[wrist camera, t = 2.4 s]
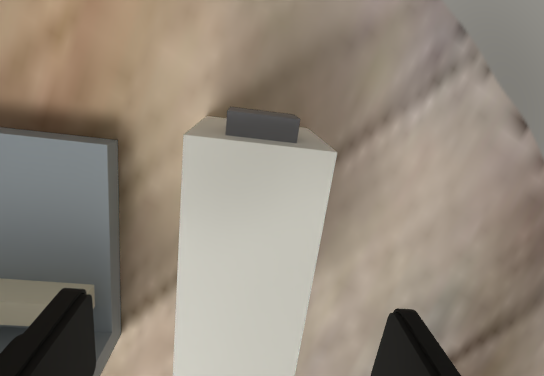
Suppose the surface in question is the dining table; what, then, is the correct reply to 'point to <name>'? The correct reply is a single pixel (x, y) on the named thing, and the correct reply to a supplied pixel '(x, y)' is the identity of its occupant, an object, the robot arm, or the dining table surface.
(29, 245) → the cleat board
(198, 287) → the cream rectangular block
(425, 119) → the dining table surface
